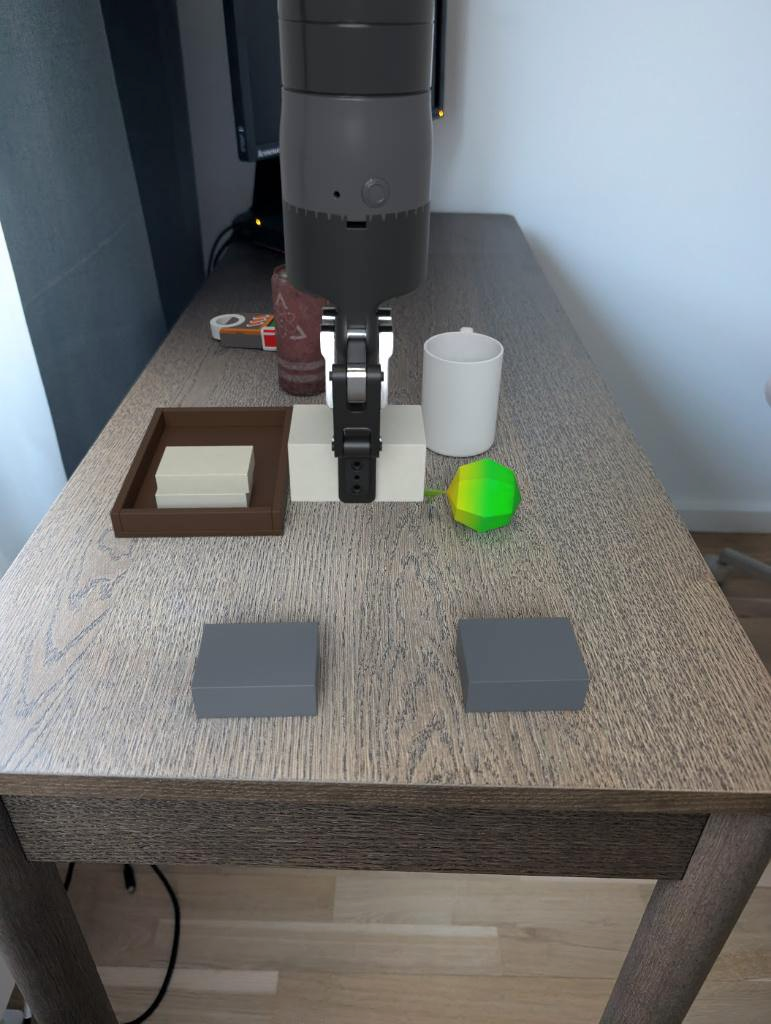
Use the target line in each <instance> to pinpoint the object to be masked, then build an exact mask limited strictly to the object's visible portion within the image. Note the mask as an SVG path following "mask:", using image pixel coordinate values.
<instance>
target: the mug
mask: <svg viewBox="0 0 771 1024" xmlns="http://www.w3.org/2000/svg"><path fill="white" fill-rule="evenodd" d="M504 352H505V350H504V345H503V344H502V343H501V342H500V341H499V340H497V339H496V338H493V337H491V336H488V335H486V334H483V333H479V332H474V328H472V327H470V326H463V327H461V328H460V329H459V331H448V332H442V333H438V334H435V335H433V336H431V337H429V338H428V339H427V340H425V342H424V344H423V355H422V356H423V357H422V378H421V379H422V381H421V404H420V405H421V409H422V416H423V423H424V430H425V437H426V444H427V447H426V449H427V448H428V450H430V451H432V452H434V453H436V454H439V455H442V456H446V457H454V458H467V457H474V456H478V455H480V454H483V453H485V452H487V451H488V450H490V448H491V447H492V446H493V445H494V442H495V439H496V429H497V428H496V427H497V417H498V409H499V399H500V390H501V389H500V388H501V380H502V371H503V370H502V369H503V361H504Z"/></svg>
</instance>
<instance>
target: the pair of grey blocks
mask: <svg viewBox="0 0 771 1024" xmlns="http://www.w3.org/2000/svg"><path fill="white" fill-rule="evenodd" d="M457 621H458V622H457V628H456V629H457V631H456V642H455V652H456V660H457V666H458V672H459V678H460V684H461V692H462V698H463V705H464V710H465V713H466V714H467V713H468V714H469V713H505V712H511V713H512V712H548V711H549V712H551V711H556V712H557V711H583V710H584V706H585V702H586V697H587V693H588V689H589V685H590V680H591V679H590V676H589V673H588V670H587V667H586V663H585V661H584V658H583V655H582V652H581V649H580V647H579V643H578V639H577V638H576V635H575V631H574V629H573V626H572V622H571V620H570V617H569V616H565V617H564V616H559V617H558V616H557V617H556V616H553V617H552V616H549V617H503V618H500V617H499V618H498V617H497V618H460V619H459V618H458V619H457ZM319 630H320V629H319V621H287V622H285V621H284V622H279V621H278V622H233V623H231V622H230V623H229V622H227V623H225V622H224V623H205V624H204V625H203V631H202V635H201V640H200V645H199V650H198V653H197V660H196V663H195V667H194V671H193V677H192V681H191V685H190V691H191V696H192V702H193V706H194V711H195V716H196V719H233V718H234V719H236V718H237V719H239V718H278V717H279V718H285V717H316V716H317V715H318V703H319V701H318V699H319V679H320V677H319V676H320V655H321V649H320V632H319Z"/></svg>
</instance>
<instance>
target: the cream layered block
mask: <svg viewBox="0 0 771 1024" xmlns="http://www.w3.org/2000/svg"><path fill="white" fill-rule="evenodd" d="M254 465H255V460H254V450H253V446H178V447H166V449H165V451H164V454H163V457H162V459H161V462H160V465H159V467H158V470H157V472H156V475H155V477H156V482H157V487H158V489H157V492H156V495H155V496H156V502H157V507H158V508H223V507H249V503H250V498H251V492H252V487H253V471H254Z"/></svg>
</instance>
